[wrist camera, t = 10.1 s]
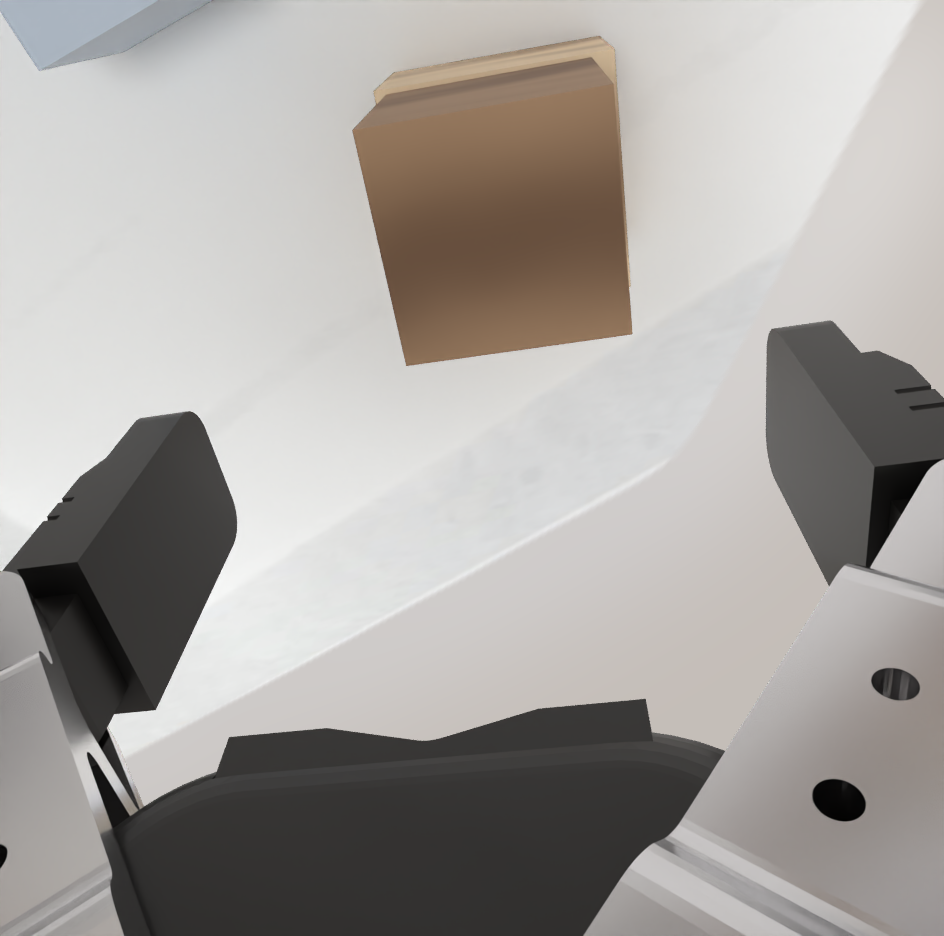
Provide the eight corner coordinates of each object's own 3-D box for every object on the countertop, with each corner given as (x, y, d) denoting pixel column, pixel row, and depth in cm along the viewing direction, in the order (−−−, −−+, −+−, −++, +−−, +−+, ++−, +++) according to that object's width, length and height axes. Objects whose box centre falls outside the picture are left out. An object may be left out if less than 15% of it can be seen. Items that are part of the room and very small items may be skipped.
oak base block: (394, 72, 29) (373, 91, 24) (598, 35, 28) (614, 49, 23) (432, 269, 32) (419, 316, 28) (614, 241, 31) (630, 286, 27)
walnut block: (386, 94, 24) (352, 130, 19) (591, 57, 24) (613, 84, 18) (426, 290, 27) (406, 366, 22) (609, 262, 27) (632, 334, 21)
